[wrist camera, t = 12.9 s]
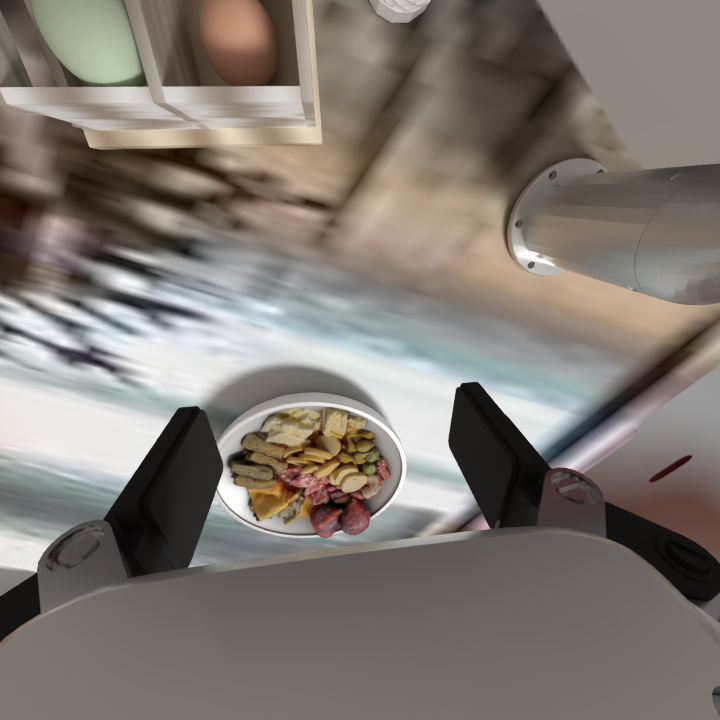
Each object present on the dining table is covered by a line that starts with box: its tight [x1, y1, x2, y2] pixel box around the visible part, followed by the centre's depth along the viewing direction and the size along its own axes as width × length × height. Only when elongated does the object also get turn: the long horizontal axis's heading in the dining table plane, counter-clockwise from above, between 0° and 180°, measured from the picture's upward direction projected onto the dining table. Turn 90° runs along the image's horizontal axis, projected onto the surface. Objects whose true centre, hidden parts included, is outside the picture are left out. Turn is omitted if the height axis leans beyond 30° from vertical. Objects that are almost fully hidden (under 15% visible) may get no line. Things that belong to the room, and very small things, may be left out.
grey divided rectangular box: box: [0, 0, 322, 149], centre depth 22 cm, size 21×12×10 cm, turn 92°
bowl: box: [214, 392, 406, 538], centre depth 47 cm, size 30×30×8 cm
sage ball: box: [31, 0, 147, 87], centre depth 19 cm, size 6×6×6 cm
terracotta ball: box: [200, 0, 279, 86], centre depth 23 cm, size 6×6×6 cm
